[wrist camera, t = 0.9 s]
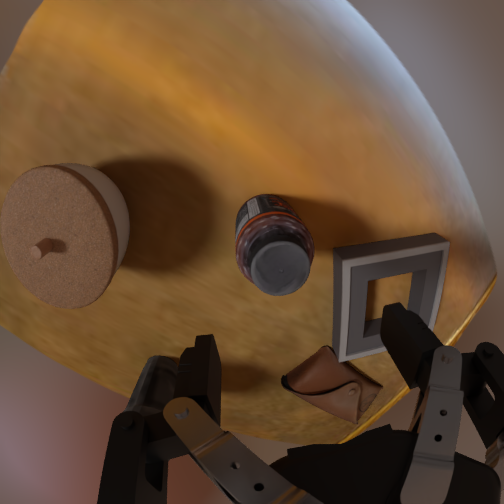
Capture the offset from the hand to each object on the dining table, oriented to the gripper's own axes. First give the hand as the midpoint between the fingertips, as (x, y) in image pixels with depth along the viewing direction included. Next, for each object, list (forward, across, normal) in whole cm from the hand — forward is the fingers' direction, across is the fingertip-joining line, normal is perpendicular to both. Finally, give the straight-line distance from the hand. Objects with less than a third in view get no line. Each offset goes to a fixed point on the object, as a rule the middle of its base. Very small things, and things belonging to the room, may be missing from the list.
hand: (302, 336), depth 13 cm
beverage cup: (+18, +16, +18) cm, 30 cm away
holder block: (+18, -14, +11) cm, 25 cm away
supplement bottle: (+18, 0, 0) cm, 18 cm away
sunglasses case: (+18, -8, +27) cm, 34 cm away
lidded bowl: (+18, +18, -4) cm, 26 cm away
